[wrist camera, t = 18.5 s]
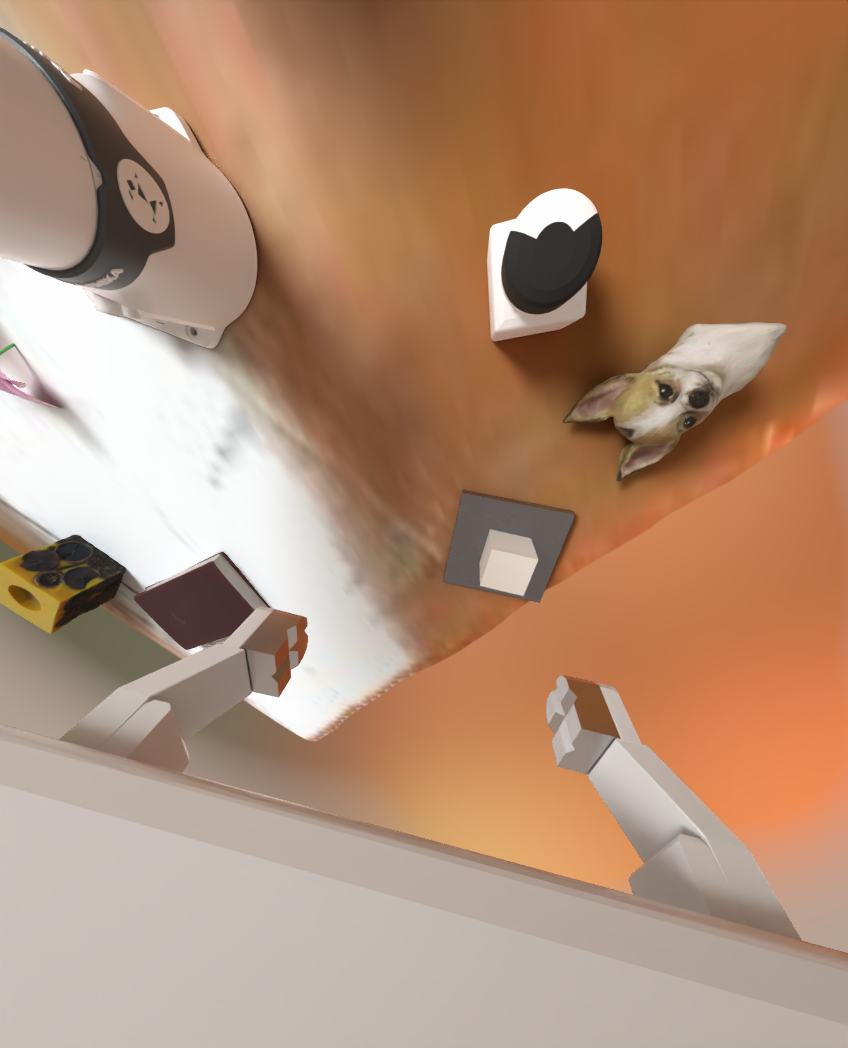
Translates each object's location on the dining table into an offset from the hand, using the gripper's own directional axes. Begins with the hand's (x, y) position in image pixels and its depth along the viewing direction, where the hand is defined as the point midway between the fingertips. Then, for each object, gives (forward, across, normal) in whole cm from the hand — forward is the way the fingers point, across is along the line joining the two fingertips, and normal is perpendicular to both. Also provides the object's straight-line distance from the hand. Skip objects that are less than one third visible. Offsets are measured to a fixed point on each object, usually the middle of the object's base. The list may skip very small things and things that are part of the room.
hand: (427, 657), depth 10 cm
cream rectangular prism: (+30, -8, +12) cm, 33 cm away
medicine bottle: (+31, -3, -16) cm, 35 cm away
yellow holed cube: (+32, +62, +33) cm, 77 cm away
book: (+32, +40, +35) cm, 62 cm away
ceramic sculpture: (+31, -18, -9) cm, 37 cm away
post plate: (+31, -8, +12) cm, 34 cm away
